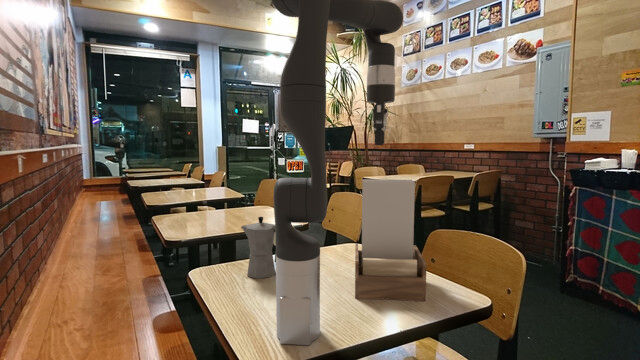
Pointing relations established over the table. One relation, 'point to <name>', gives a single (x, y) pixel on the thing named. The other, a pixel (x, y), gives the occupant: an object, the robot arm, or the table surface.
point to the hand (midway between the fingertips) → (379, 144)
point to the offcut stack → (390, 267)
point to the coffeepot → (260, 249)
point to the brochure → (387, 218)
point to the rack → (391, 282)
